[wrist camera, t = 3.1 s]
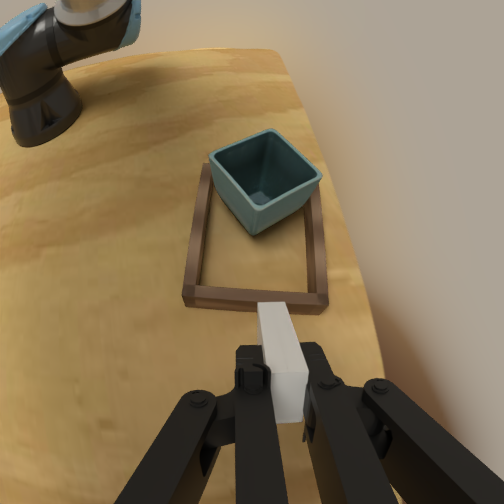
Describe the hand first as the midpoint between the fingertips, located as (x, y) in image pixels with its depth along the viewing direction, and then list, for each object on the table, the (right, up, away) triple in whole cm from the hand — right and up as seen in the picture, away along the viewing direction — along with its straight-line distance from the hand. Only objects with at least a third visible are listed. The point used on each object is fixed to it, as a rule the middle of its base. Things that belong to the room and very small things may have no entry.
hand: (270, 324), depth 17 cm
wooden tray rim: (-1, +5, +20) cm, 20 cm away
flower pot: (0, +9, +22) cm, 24 cm away
